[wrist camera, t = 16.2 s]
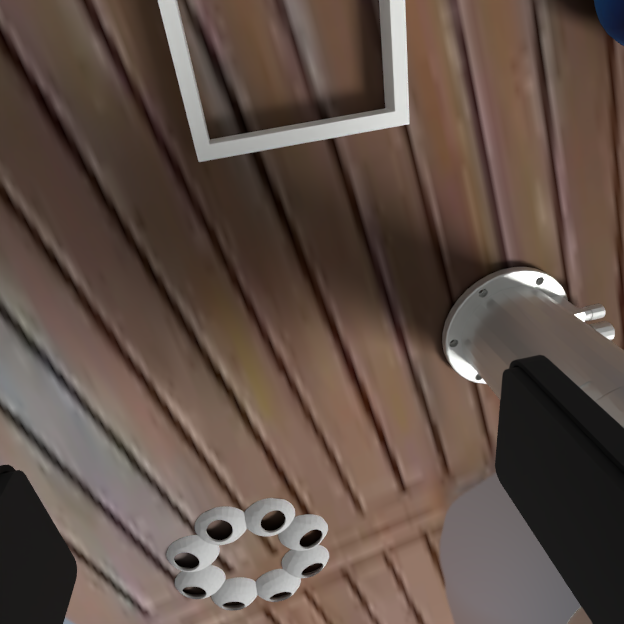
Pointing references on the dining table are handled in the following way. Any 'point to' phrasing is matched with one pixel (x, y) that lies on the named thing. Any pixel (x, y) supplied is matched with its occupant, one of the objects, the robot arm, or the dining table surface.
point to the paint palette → (240, 521)
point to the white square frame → (303, 132)
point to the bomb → (611, 17)
